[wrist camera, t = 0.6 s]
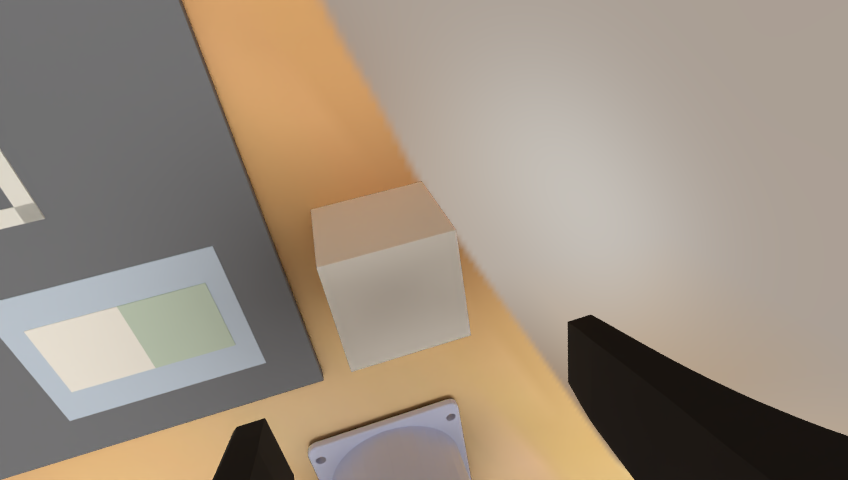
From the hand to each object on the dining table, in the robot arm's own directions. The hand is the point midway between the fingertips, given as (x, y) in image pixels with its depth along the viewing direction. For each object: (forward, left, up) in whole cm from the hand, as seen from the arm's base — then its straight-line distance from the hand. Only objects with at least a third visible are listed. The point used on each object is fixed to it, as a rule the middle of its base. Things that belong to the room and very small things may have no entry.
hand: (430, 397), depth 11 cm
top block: (-1, 0, -10) cm, 10 cm away
